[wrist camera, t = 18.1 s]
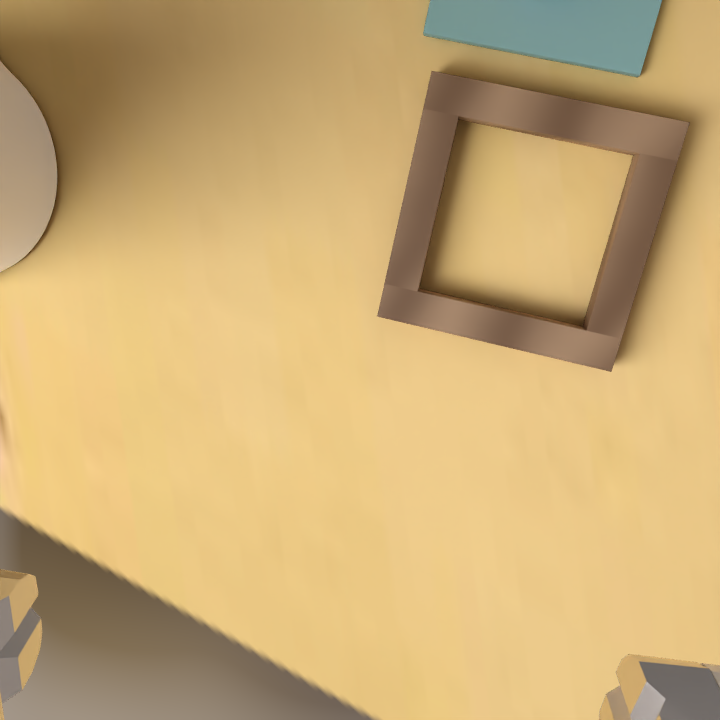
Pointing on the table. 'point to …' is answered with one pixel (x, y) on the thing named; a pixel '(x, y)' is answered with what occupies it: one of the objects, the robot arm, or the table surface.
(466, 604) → the table surface
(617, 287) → the brown wooden square frame
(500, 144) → the table surface
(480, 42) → the teal mat
